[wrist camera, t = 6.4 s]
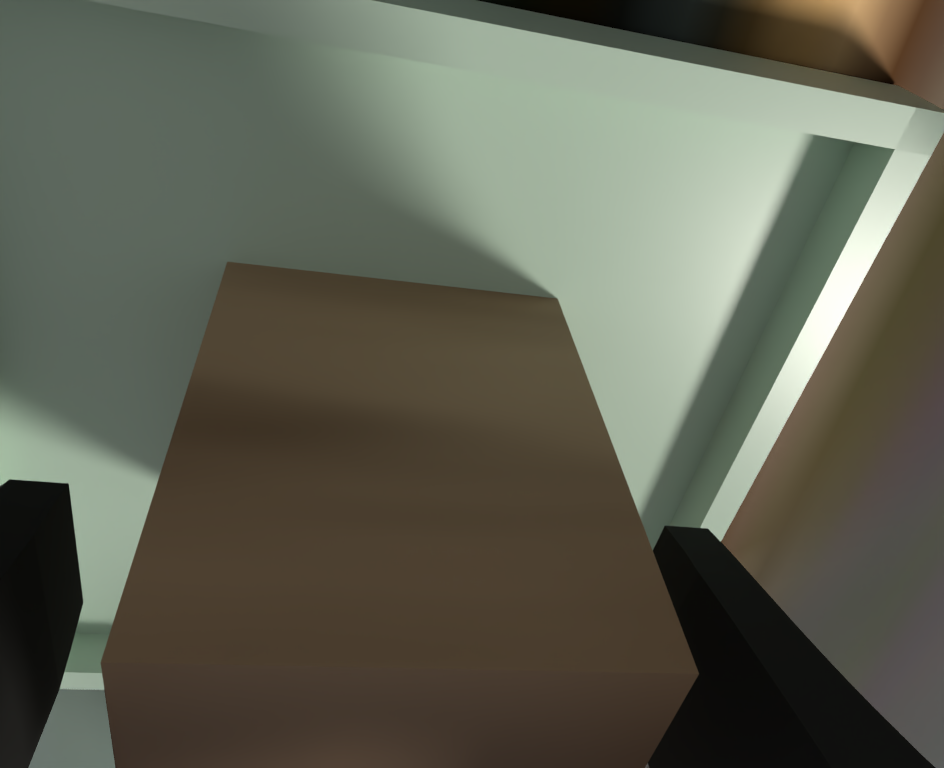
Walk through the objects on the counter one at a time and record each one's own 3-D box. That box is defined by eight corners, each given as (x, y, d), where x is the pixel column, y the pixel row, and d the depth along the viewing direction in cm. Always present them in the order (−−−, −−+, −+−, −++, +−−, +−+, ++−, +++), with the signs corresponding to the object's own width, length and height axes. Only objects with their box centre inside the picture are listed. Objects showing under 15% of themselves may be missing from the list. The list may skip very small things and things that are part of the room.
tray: (618, 651, 17) (633, 701, 16) (11, 629, 15) (-14, 687, 14) (898, 85, 10) (952, 115, 9) (-147, -126, 8) (-220, -117, 7)
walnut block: (494, 522, 14) (561, 911, 9) (225, 508, 13) (139, 929, 8) (557, 298, 11) (700, 674, 6) (226, 262, 10) (100, 662, 5)
